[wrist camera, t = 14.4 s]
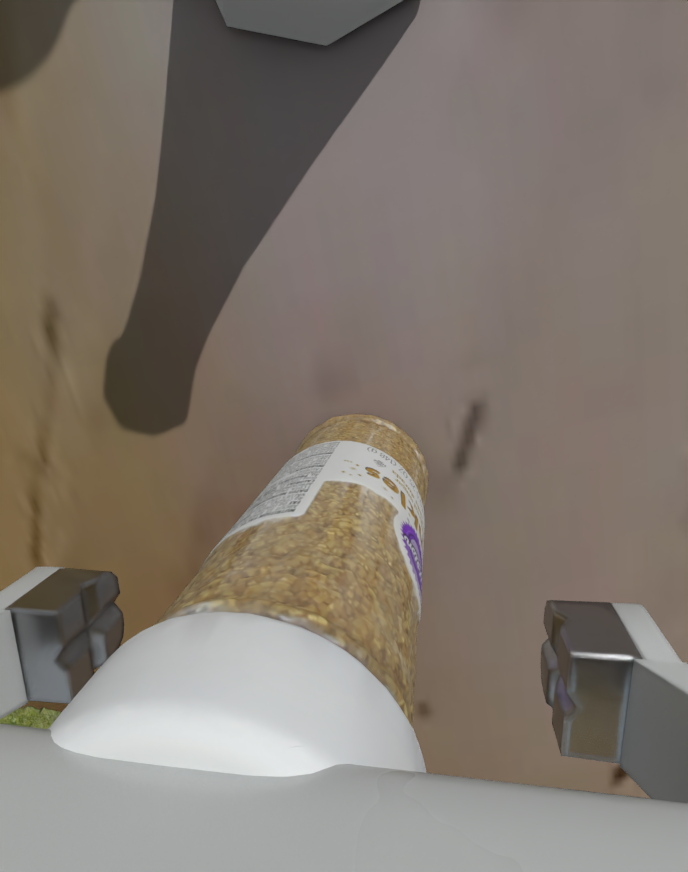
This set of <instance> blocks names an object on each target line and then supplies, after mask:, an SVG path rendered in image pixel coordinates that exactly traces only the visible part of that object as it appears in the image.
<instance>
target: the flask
mask: <svg viewBox="0 0 688 872" xmlns="http://www.w3.org/2000/svg"><path fill="white" fill-rule="evenodd" d="M401 1H403V0H216V2H217V4H218V7H219V9H220V11H221V14H222V16H223V18H224V20H225V23H226V25H227V26H228V27H233V28H238V29H243V30H248V31H254V32H259V33H264V34H269V35H274V36H279V37H284V38H289V39H294V40H300V41H305V42H310V43H315V44H320V45H325V46H327V45H329V44H331V43H332V42H334V41H336V40H337V39H339V38H341V37H342V36H344V35H346V34H347V33H349V32H351V31H353V30H354V29H356V28H358V27H359V26H361V25H363V24H364V23H366V22H368V21H369V20H371V19H373V18H374V17H376V16H378V15H380V14H381V13H383V12H385V11H386V10H388V9H390V8H391V7H393V6H395V5H396V4H398V3H400V2H401Z"/></svg>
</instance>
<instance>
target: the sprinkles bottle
mask: <svg viewBox="0 0 688 872" xmlns="http://www.w3.org/2000/svg"><path fill="white" fill-rule="evenodd" d="M427 492H428V472H427V468H426V465H425V460H424V457H423V455H422V454H421V452H420V451H419V449H418V447H417V445H416V444H415V443H414V441H413V440H412V439H411V438H410V437H409V436H408V435H407V434H406V433H405V432H403V431H402V430H401V429H400V428H398V427H397V426H396V425H394V424H393V423H392V422H389V421H387V420H384V419H381V418H379V417H376V416H372V415H361V414H351V415H343V416H338V417H333V418H330V419H329V420H327V421H326V422H324V423H323V424H321V425H319V426H317V427H316V428H314V429H313V430H312V431H311V432H310V433H309V434H308V435H307V436H306V437H305V438H304V439H303V441H302V442H301V444H300V446H299V448H298V450H297V452H296V455H295V456H294V457H292V458H291V459H290V460H289V461H288V462H287V463H286V464H285V465H284V466H283V467H282V468H281V469H280V471H279V472H278V473H277V474H276V476H275V477H274V478H273V479H272V480H271V481H270V483H269V484H268V485H267V486H266V487H265V489H264V490H263V491H262V492H261V493H260V495H259V496H258V497H257V498H256V500H255V501H254V502H253V503H252V504H251V506H250V507H249V508H248V509H247V510H246V511H245V513H244V514H243V515H242V516H241V517H240V519H239V520H238V521H237V522H236V524H235V525H234V526H233V527H232V528H231V529H230V530H229V532H228V533H227V534H226V535H225V536H224V537H223V539H222V540H221V541H220V542H219V543H218V544H217V546H216V547H215V548H214V549H213V550H212V552H211V553H210V555H209V556H208V557H207V559H206V560H205V562H204V564H203V566H202V567H201V569H200V571H199V572H198V573H197V575H196V576H195V577H194V579H193V580H192V581H191V582H190V583H189V584H188V585H187V586H186V587H185V589H184V590H183V592H182V593H181V594H180V595H179V596H178V598H177V599H176V601H175V602H174V603H173V604H172V605H171V606H170V608H169V609H168V610H167V611H166V612H165V614H164V615H163V616H162V617H161V619H160V620H159V621H158V622H157V623H156V624H155V625H154V626H152V627H150V628H148V629H145V630H143V631H141V632H140V633H138V634H137V635H135V636H134V637H132V638H131V639H129V640H128V641H126V642H125V643H124V644H123V645H122V646H121V647H119V648H118V649H117V650H116V651H115V652H114V653H113V654H112V655H111V656H110V657H109V658H108V659H107V660H106V661H105V663H104V664H103V665H102V666H101V667H100V668H99V669H98V670H97V672H96V673H95V674H94V675H93V676H92V677H91V678H90V680H89V681H88V682H87V683H86V684H85V686H84V687H83V688H82V689H81V690H80V691H79V693H78V694H77V695H76V696H75V697H74V698H73V700H72V701H71V702H70V703H69V704H68V705H67V707H66V708H65V709H64V710H63V711H62V713H61V714H60V715H59V716H58V717H57V719H56V720H55V721H54V722H53V724H52V725H51V726H50V727H49V728H48V729H50V730H51V737H52V739H53V741H54V742H55V743H56V744H57V745H59V746H60V747H62V748H64V749H67V750H69V751H72V752H75V753H80V754H84V755H89V756H93V757H98V758H105V759H113V760H121V761H129V762H137V763H145V764H152V765H160V766H169V767H178V768H187V769H196V770H204V771H213V772H222V773H230V774H240V775H251V776H273V777H289V776H297V775H305V774H312V773H315V772H317V771H320V770H323V769H325V768H329V767H332V766H334V765H337V764H354V765H363V766H371V767H380V768H389V769H398V770H406V771H415V772H424V773H426V769H425V764H424V759H423V756H422V752H421V749H420V746H419V743H418V739H417V736H416V734H415V732H414V730H413V716H414V687H415V679H416V642H417V626H418V624H419V621H420V616H421V592H422V564H423V547H424V530H425V518H424V508H423V507H424V504H425V501H426V498H427Z"/></svg>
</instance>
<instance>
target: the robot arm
mask: <svg viewBox="0 0 688 872" xmlns="http://www.w3.org/2000/svg"><path fill="white" fill-rule="evenodd" d="M119 594H120V590H119V584H118V578H117V577H116V576H115V575H114V574H113V573H112V572H109V571H97V570H86V569H74V568H64V567H36V568H35V569H33V570H32V571H30V572H29V573H27V574H26V575H24V576H23V577H21V578H20V579H18V580H17V581H15V582H14V583H12V584H11V585H10V586H8V587H7V588H5V589H4V590H2V591H1V592H0V719H2V718H3V717H5V716H7V715H8V714H10V713H12V712H13V711H15V710H17V709H18V708H20V707H22V706H23V705H25V704H27V703H28V700H29V701H43V702H56V703H70V702H71V701H72V700H73V698H74V697H75V696H76V695H77V694H78V693H79V691H80V690H81V689H82V688H83V687H84V686H85V684H86V683H87V682H88V681H89V680H90V678H91V677H92V676H93V675H94V669H96V668H98V667H100V666H102V665H103V664H104V663H105V661H106V660H107V659H108V658H109V657H110V656H111V655H112V654H113V653H114V652H115V651H116V650H117V649H118V648H119V646H120V643H121V641H122V638H123V632H124V618H123V613H122V611H121V610H120V609H119V608H118V606H117V605H116V604H115V603H114V602H115V600H116V598H117V597H118V595H119ZM544 626H545V629H546V632H547V635H548V639H547V640H546V641H545V642H544V643H543V644H542V648H541V680H542V686H543V692H544V696H545V699H546V703H547V704H549V705H550V706H551V707H552V708H553V716H552V725H553V728H554V732H555V735H556V739H557V742H558V746H559V749H560V753H561V756H567V757H574V758H582V759H589V760H597V761H604V762H612V763H619V764H620V767H621V768H622V769H623V770H624V771H625V772H626V773H627V774H628V775H629V776H630V777H631V778H632V779H633V780H634V781H635V782H636V783H637V784H638V785H639V786H640V787H641V789H642V790H643V791H644V792H645V793H646V794H647V795H648V796H649V797H650V798H651V799H649V798H641V797H632V796H623V795H615V794H606V793H598V792H589V791H580V790H572V789H563V788H554V787H546V786H537V785H528V784H519V783H511V782H502V781H493V780H485V779H476V778H467V777H458V776H450V775H441V774H432V773H424V772H415V771H406V770H398V769H389V768H380V767H371V766H363V765H354V764H337V765H334V766H332V767H329V768H325V769H323V770H320V771H317V772H315V773H312V774H305V775H297V776H289V777H273V776H251V775H240V774H230V773H222V772H213V771H204V770H196V769H187V768H178V767H169V766H160V765H152V764H145V763H137V762H129V761H121V760H113V759H105V758H98V757H93V756H89V755H84V754H80V753H75V752H72V751H69V750H67V749H64V748H62V747H60V746H59V745H57V744H56V743H55V742H54V741H53V739H52V737H51V730H50V729H42V728H33V727H24V726H16V725H7V724H0V872H688V663H682V661H681V660H680V658H679V657H678V655H677V654H676V653H675V651H674V650H673V648H672V647H671V645H670V644H669V642H668V641H667V640H666V638H665V637H664V635H663V634H662V632H661V631H660V629H659V628H658V627H657V625H656V624H655V622H654V621H653V619H652V618H651V616H650V615H649V613H648V612H647V611H646V609H645V608H644V606H642V605H640V604H635V603H607V602H582V601H557V600H549V601H547V602H546V606H545V612H544Z"/></svg>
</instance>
